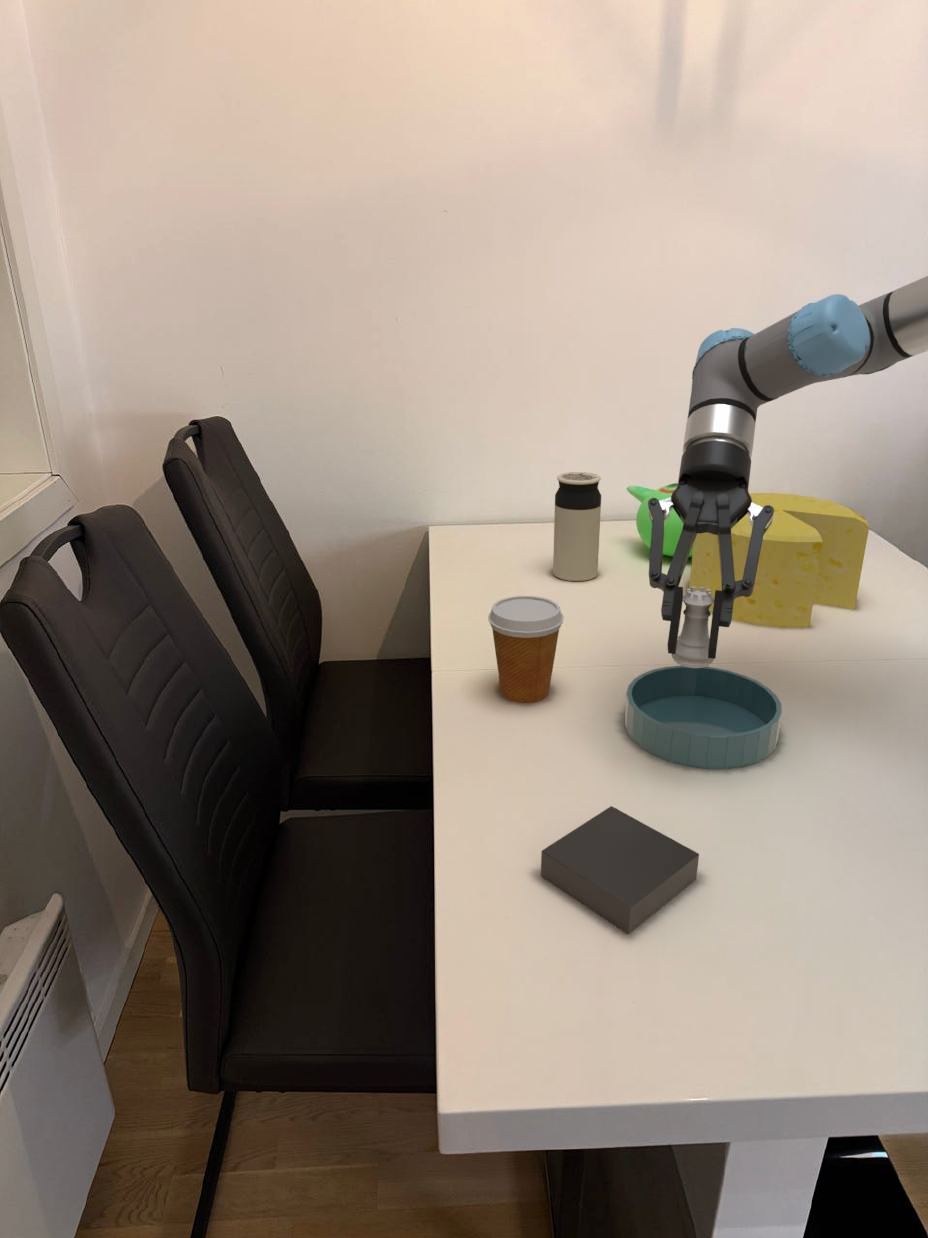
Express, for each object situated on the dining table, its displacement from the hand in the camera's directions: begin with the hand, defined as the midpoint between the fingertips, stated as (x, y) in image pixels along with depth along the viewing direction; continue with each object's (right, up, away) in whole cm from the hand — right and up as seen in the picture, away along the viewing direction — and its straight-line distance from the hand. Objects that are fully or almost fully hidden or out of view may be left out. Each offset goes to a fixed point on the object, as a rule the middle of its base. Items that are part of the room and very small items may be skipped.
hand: (691, 651), depth 86 cm
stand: (-9, -20, -9) cm, 24 cm away
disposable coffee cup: (-15, -7, +24) cm, 30 cm away
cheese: (+28, +7, +54) cm, 61 cm away
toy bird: (+18, +16, +75) cm, 79 cm away
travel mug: (-3, +11, +66) cm, 67 cm away
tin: (+5, -10, +15) cm, 19 cm away
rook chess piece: (+1, -1, +5) cm, 5 cm away
